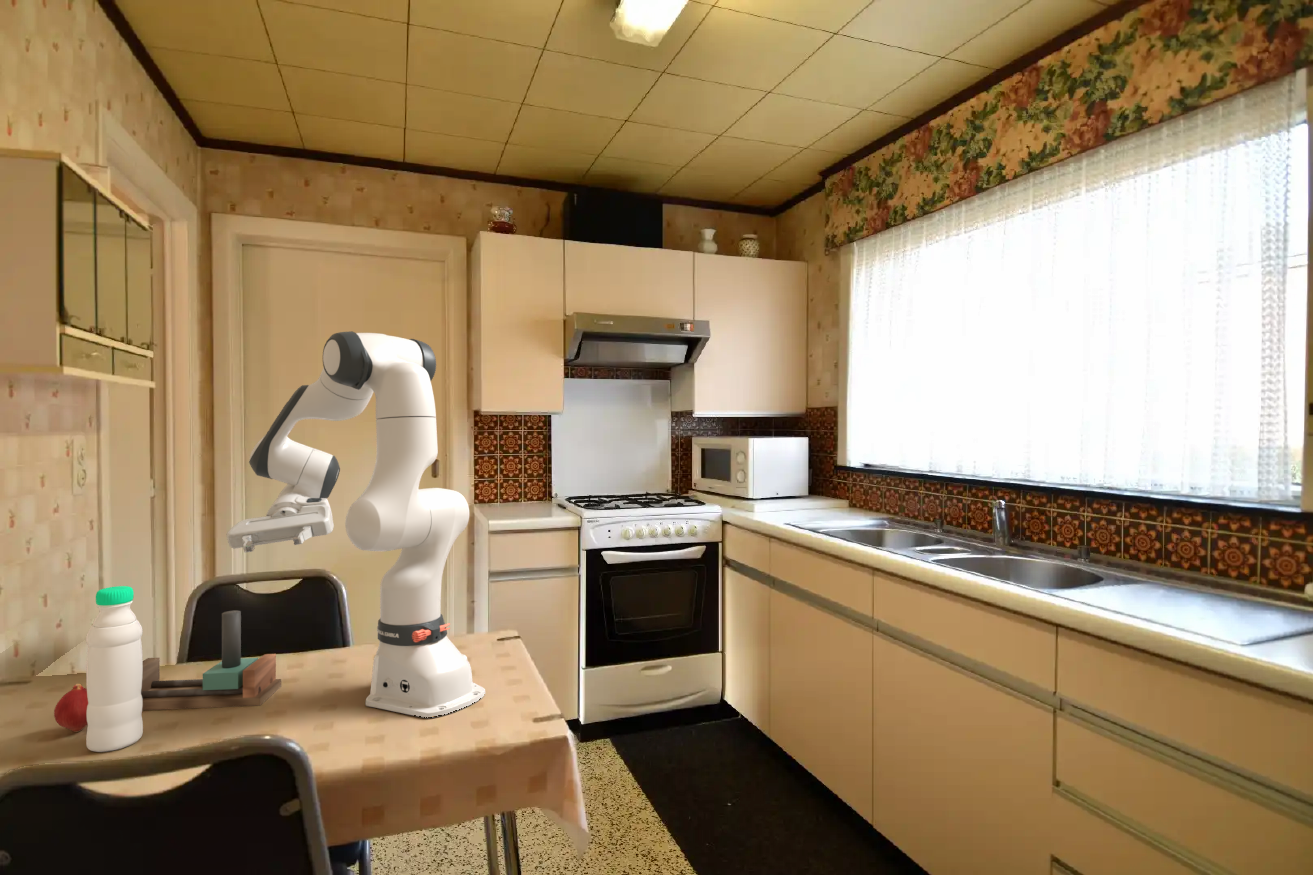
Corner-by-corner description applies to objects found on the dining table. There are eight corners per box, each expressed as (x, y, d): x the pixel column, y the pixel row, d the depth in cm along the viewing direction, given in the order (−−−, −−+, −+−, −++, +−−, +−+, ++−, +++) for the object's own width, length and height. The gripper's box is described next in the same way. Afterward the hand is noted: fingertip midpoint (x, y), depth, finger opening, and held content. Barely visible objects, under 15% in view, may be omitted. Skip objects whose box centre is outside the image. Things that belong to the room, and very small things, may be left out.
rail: (281, 686, 132) (281, 653, 132) (260, 705, 123) (260, 669, 123) (148, 691, 129) (148, 657, 129) (116, 711, 120) (116, 675, 120)
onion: (52, 731, 112) (52, 683, 112) (96, 720, 116) (96, 674, 116) (56, 742, 108) (56, 693, 108) (102, 730, 112) (102, 683, 112)
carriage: (258, 672, 131) (258, 606, 130) (237, 688, 123) (238, 618, 123) (225, 674, 130) (225, 607, 130) (202, 690, 122) (202, 619, 122)
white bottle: (75, 748, 106) (75, 590, 105) (124, 730, 112) (124, 581, 112) (104, 757, 103) (104, 595, 103) (153, 737, 110) (152, 585, 109)
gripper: (235, 510, 147) (212, 539, 135) (334, 496, 152) (321, 523, 139) (242, 536, 150) (220, 567, 137) (340, 521, 154) (328, 550, 141)
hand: (272, 545), depth 138 cm, fingers open, 8 cm apart
